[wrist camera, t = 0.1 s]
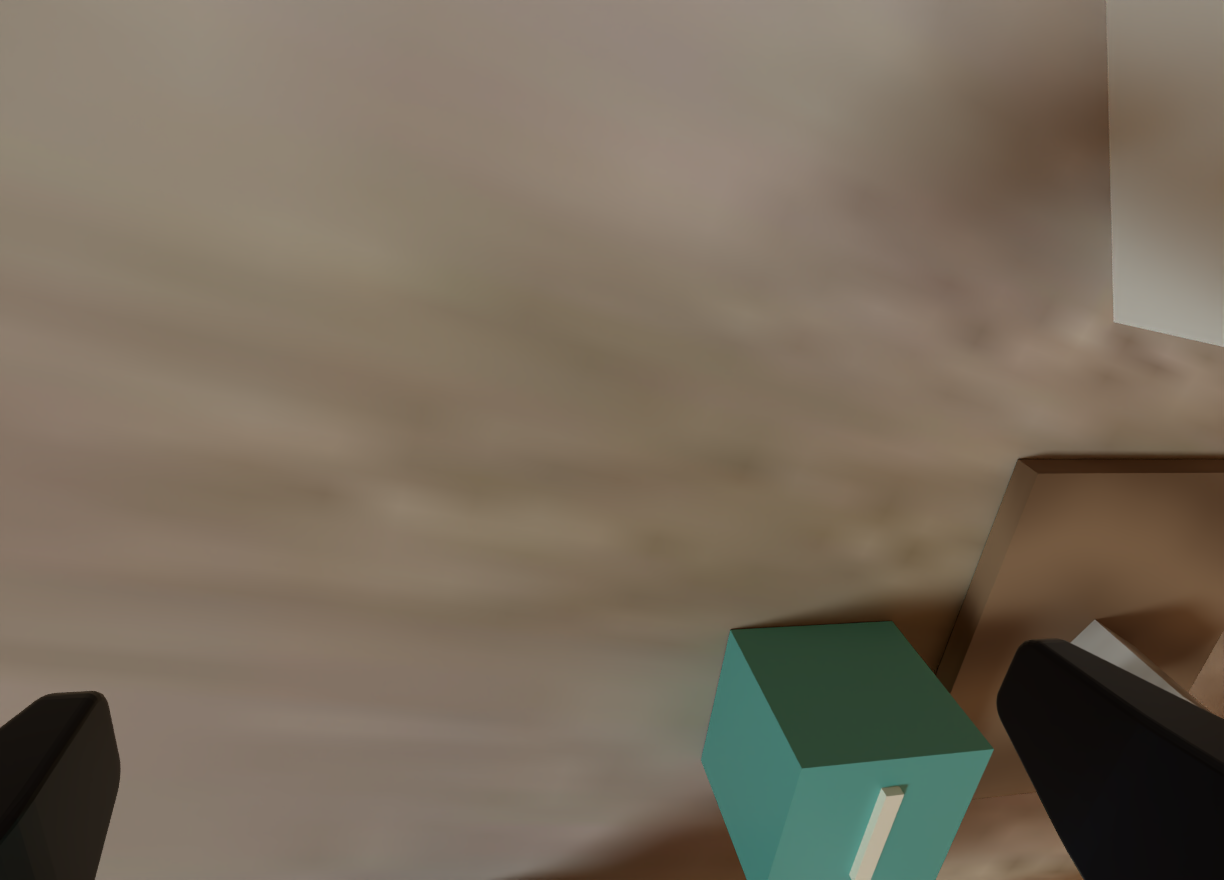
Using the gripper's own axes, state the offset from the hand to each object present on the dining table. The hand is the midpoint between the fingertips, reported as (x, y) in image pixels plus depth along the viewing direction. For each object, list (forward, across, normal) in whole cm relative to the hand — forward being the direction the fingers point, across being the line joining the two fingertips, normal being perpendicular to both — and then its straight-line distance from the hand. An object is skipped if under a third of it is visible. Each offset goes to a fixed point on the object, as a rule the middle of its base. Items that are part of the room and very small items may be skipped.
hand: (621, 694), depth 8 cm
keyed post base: (+15, -24, +13) cm, 31 cm away
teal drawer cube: (+15, -12, +15) cm, 24 cm away
